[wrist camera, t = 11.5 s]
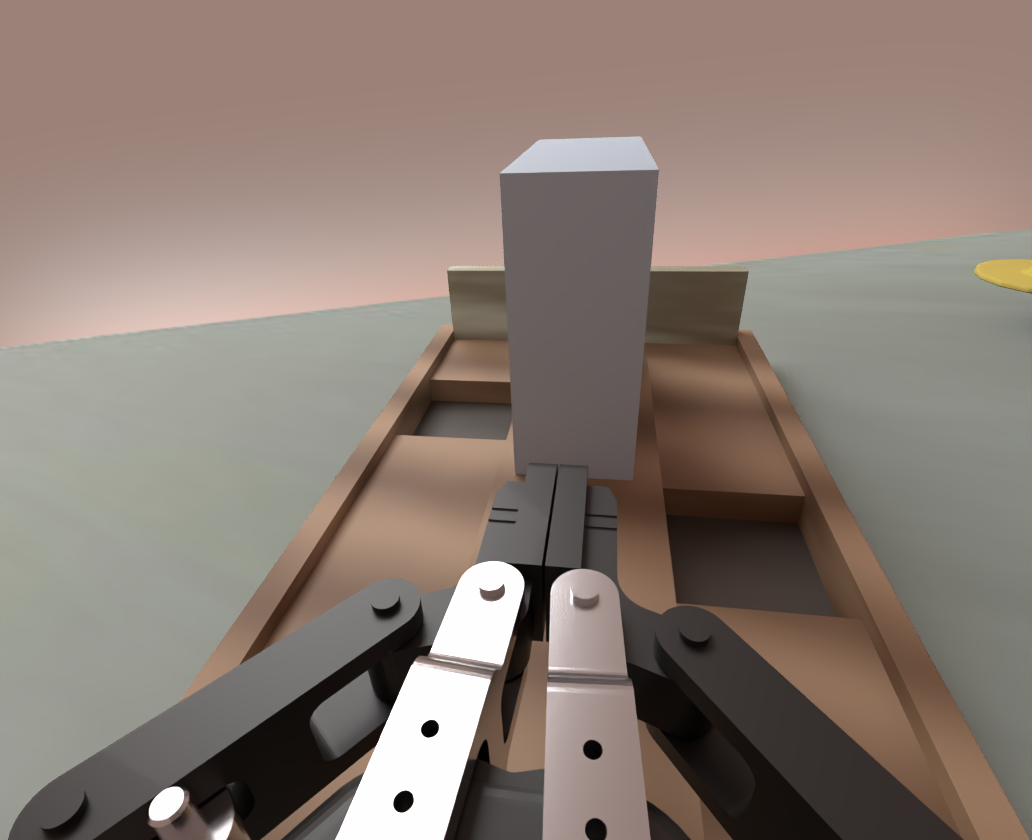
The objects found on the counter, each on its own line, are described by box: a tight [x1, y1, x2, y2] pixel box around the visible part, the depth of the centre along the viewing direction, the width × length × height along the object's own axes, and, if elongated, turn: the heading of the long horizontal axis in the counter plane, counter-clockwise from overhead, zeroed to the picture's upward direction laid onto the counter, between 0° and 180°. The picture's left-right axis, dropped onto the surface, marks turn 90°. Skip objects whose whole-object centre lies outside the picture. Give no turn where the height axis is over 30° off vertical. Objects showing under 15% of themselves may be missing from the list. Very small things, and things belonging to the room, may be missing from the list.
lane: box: [178, 266, 1030, 840], centre depth 23 cm, size 32×20×6 cm, turn 172°
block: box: [500, 137, 659, 481], centre depth 26 cm, size 12×5×12 cm, turn 172°
